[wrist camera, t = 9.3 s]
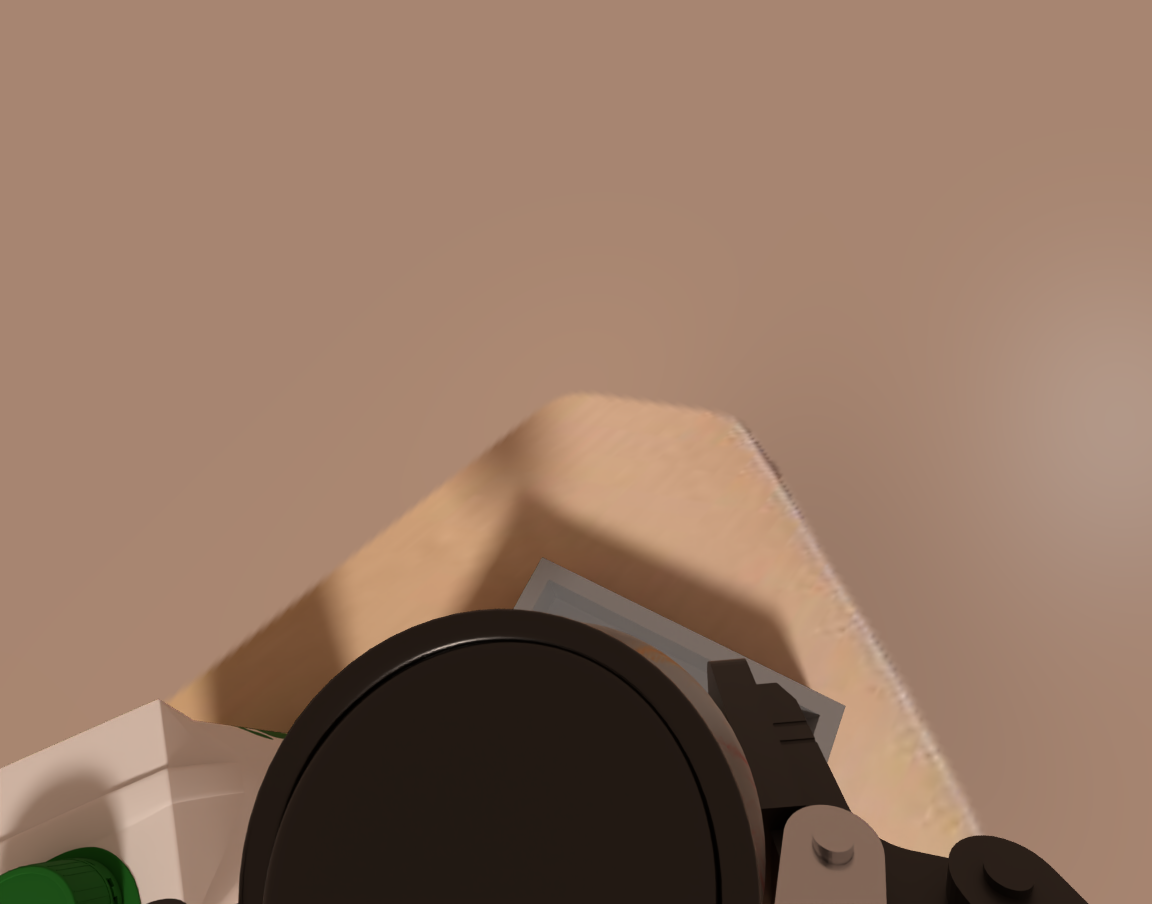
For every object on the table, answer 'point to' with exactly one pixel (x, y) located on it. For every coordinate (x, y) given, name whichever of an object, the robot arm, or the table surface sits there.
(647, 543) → the table surface
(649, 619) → the bin
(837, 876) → the robot arm
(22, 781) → the milk carton
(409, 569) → the table surface
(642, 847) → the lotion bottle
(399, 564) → the table surface
